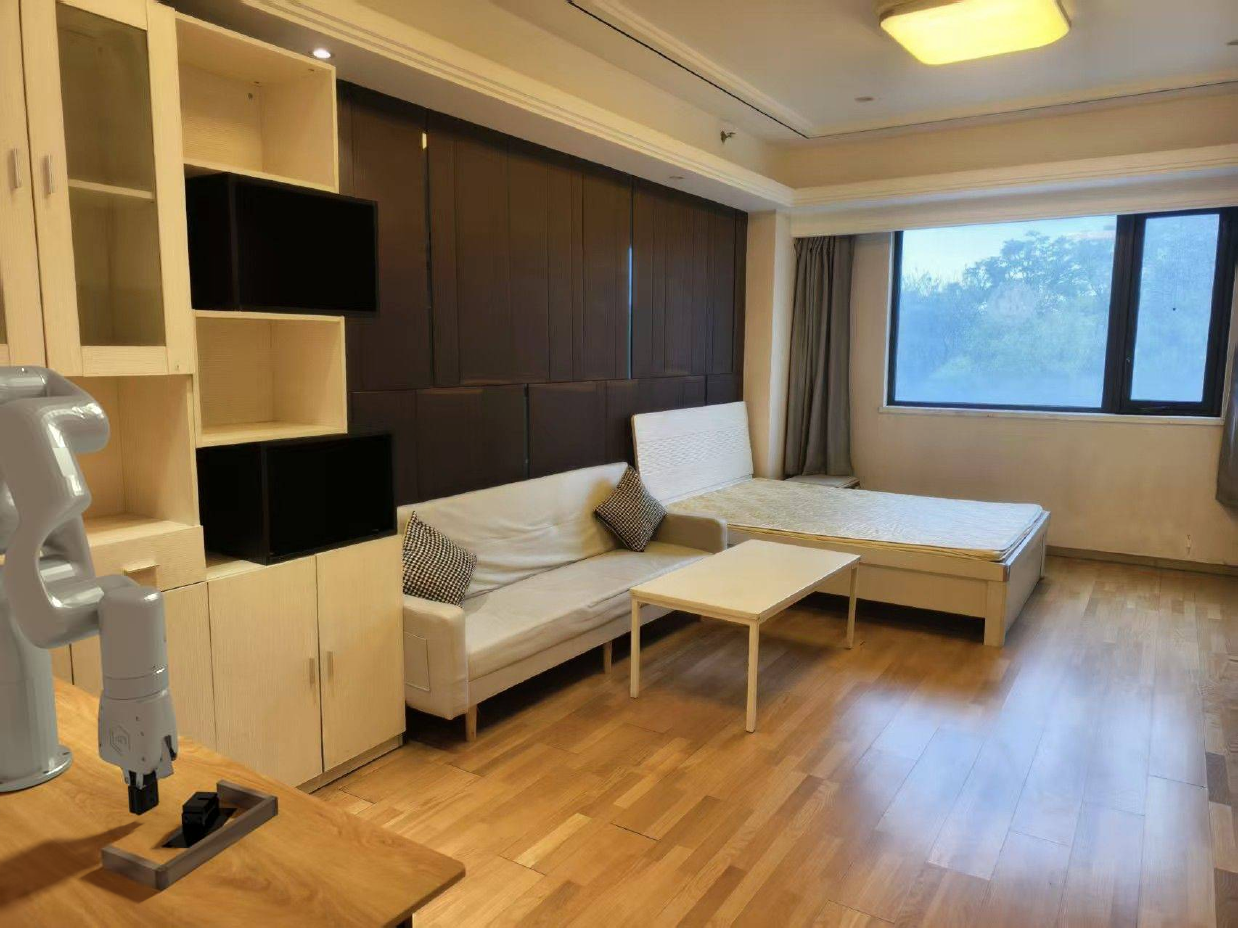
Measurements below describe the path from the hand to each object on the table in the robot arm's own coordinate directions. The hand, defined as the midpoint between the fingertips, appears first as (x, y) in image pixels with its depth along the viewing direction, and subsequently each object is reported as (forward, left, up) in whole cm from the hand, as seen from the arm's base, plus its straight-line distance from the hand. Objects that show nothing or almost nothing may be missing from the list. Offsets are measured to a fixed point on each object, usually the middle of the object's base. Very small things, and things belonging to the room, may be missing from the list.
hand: (144, 808), depth 114 cm
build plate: (+8, +2, -3) cm, 9 cm away
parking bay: (+9, 0, -2) cm, 9 cm away
